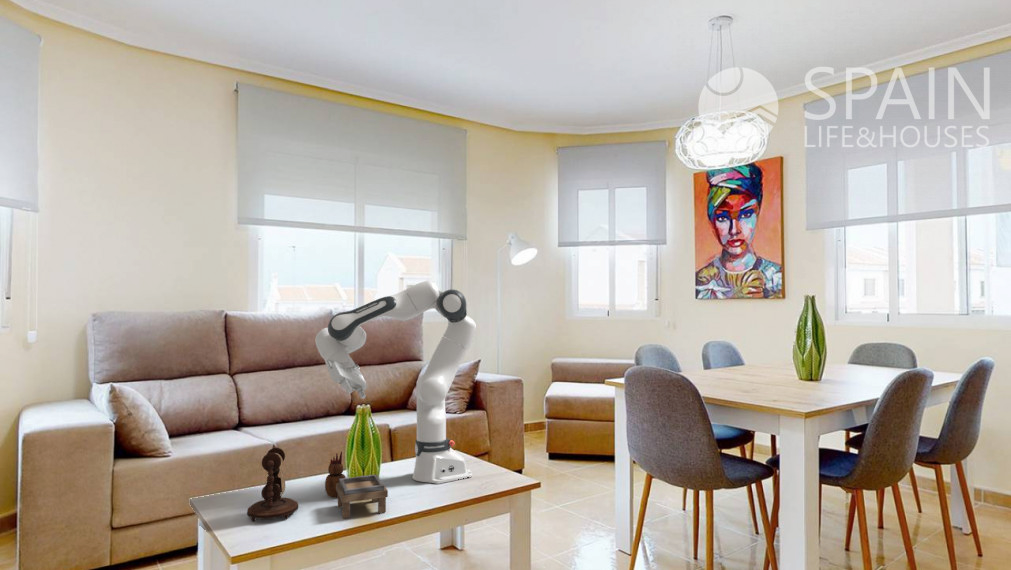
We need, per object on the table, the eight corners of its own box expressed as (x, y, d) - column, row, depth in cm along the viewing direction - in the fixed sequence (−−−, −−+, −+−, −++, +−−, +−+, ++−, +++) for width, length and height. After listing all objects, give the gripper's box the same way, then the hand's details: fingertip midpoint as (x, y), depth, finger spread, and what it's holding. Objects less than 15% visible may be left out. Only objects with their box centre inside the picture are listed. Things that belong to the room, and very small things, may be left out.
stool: (379, 499, 193) (379, 473, 193) (387, 513, 180) (387, 485, 180) (335, 505, 187) (336, 478, 187) (341, 519, 174) (341, 491, 175)
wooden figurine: (348, 493, 198) (348, 450, 199) (341, 499, 193) (342, 454, 193) (329, 493, 199) (329, 449, 200) (322, 498, 193) (322, 454, 194)
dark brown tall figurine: (294, 521, 173) (294, 454, 174) (241, 525, 170) (242, 457, 171) (301, 505, 187) (301, 443, 188) (253, 508, 184) (253, 445, 185)
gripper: (332, 352, 202) (349, 382, 196) (360, 367, 221) (377, 395, 214) (318, 363, 202) (335, 394, 196) (347, 377, 220) (363, 405, 214)
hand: (357, 394), depth 205 cm, fingers open, 8 cm apart
